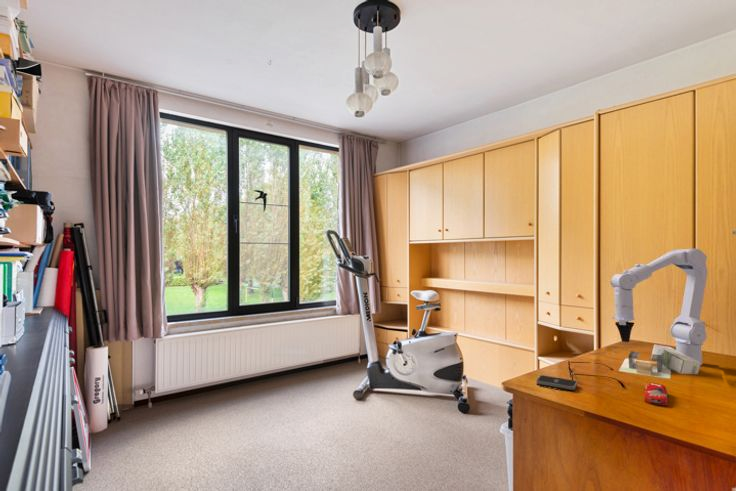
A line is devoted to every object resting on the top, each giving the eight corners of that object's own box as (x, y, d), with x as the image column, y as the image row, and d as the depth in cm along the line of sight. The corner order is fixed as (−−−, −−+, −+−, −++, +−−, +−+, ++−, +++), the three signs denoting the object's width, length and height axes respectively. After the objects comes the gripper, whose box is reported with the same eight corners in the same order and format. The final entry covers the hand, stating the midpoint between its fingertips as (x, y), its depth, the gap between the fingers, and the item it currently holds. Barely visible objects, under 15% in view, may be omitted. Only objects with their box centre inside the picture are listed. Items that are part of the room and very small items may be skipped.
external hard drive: (541, 380, 125) (540, 374, 125) (578, 387, 118) (577, 380, 119) (536, 386, 120) (536, 380, 120) (574, 393, 113) (574, 387, 113)
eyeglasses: (566, 370, 137) (566, 359, 137) (617, 375, 130) (616, 363, 130) (570, 383, 122) (569, 371, 122) (627, 390, 115) (626, 377, 115)
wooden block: (638, 369, 130) (637, 361, 130) (652, 371, 127) (651, 362, 127) (636, 373, 126) (636, 364, 126) (651, 375, 123) (650, 366, 123)
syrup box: (701, 362, 123) (669, 346, 138) (683, 359, 124) (653, 343, 138) (697, 378, 124) (665, 360, 138) (679, 375, 124) (649, 358, 139)
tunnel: (631, 363, 138) (630, 351, 138) (662, 367, 132) (661, 355, 132) (629, 368, 132) (628, 355, 132) (661, 372, 126) (660, 359, 126)
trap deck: (625, 362, 144) (625, 358, 144) (671, 368, 135) (671, 364, 135) (618, 375, 129) (618, 370, 129) (670, 383, 119) (670, 378, 119)
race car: (668, 409, 100) (667, 394, 100) (643, 404, 104) (642, 390, 104) (669, 395, 110) (668, 381, 110) (646, 391, 114) (645, 378, 114)
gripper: (614, 302, 147) (615, 337, 147) (608, 306, 136) (610, 343, 136) (635, 304, 143) (637, 339, 142) (631, 308, 132) (633, 346, 131)
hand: (625, 341), depth 138 cm, fingers closed
